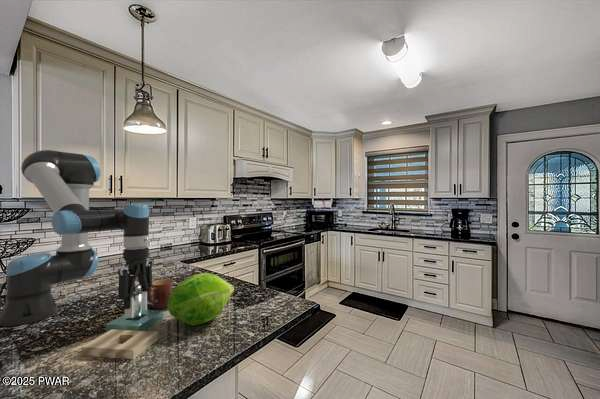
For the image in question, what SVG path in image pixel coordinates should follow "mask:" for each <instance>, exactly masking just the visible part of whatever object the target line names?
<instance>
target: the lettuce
mask: <svg viewBox="0 0 600 399" xmlns="http://www.w3.org/2000/svg"><path fill="white" fill-rule="evenodd" d="M234 291H235V287H234V286H233V285H232V284H231V283H230V282H228V281H226V280H225V279H223V278H222V277H220V276H218V275H216V274H214V273H210V272H208V273H207V272H206V273H205V272H204V273H203V272H202V273H196V274H193V275H190V276H188V277H187V278H185V279H184V280H183V281H182V282H180V283H179V284H177V285H176V286H175V287H174V289H172V293H171V295H170V296H169V298H168V305H167V309H168V312H169V314H170V315H171V317H173V318H174V319H176V320H178V321H180V322H183V323H186V324H188V325H190V326H198V325H202V324H204V323H205V324H206V323H208V322H210V321H212V320H214V319H216V318H217V317H218V316H219V315H220V313H221V312H222V311H223V309H224V308H225V306H226V305H227V303H228V302H229V298H230V297H231V296H232V294H233V293H234Z"/></svg>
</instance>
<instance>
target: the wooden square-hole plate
mask: <svg viewBox="0 0 600 399" xmlns="http://www.w3.org/2000/svg"><path fill="white" fill-rule="evenodd" d="M158 339H159V331H148V330H146V331H132V330H114V329H112V330H110V331H108V332H106V331H105V332H104V333H103V334H102V335H99V336H98V337H96V338H95V339H93V340H91V341H89V342H88V343H86V344H84V345H83V346H81V356H82V357H83V356H84V357H95V358H109V359H123V360H135V359H136V358H137V357H138V356H140V355H141V354H142V353H143V352H145V351H146V350H147V349H149V348H150V347H151V346H152V345H154V344H155V343H156V342H157V341H159V340H158Z"/></svg>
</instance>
